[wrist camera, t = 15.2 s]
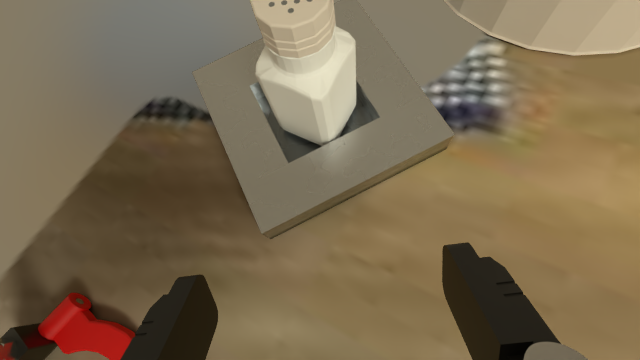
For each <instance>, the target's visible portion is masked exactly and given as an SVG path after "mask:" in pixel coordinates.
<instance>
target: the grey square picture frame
mask: <svg viewBox="0 0 640 360" xmlns="http://www.w3.org/2000/svg"><path fill="white" fill-rule="evenodd" d="M334 10H335V13H334V14H335V21H336V26H337V27H339V28H341V29H343V30H345V31H347V32H349V34H350V35H351V36H352V37H353V38H354V39H355V41H356V106H355V108H354V110H353V112H352V114H351V115H350V117H349V119H348V121H347V123H346V125H345V127H344V129H343V131H342V132H341V134H340V136H339V138H338V139H336V140H334V141H332V142H330V143H328V144H326V145H324V146H321V145H318V144H316V143H314V142H311V141H309V140H307V139H304V138H302V137H300V136H297V135H295V134H293V133H290V132H288V131H286V130H284V129H283V128H282V127H281V126H280V125H279V123H278V121H277V119H276V117H275V115H274V113H273V111H272V109H271V107H270V104H269V102H268V100H267V98H266V96H265V94H264V92H263V90H262V88H261V86H260V84H259V82H258V80H257V78H256V63H257V61H258V59H259V57H260V55H261V52H262V50H263V49H264V47H265V43H264V41H263V38H262V39H260V40H258V41H256V42H253V43H251V44H249V45H247V46H245V47H243V48H241V49H239V50H237V51H235V52H233V53H231V54H229V55H227V56H225V57H222V58H220V59H218V60H216V61H214V62H212V63H210V64H208V65H206V66H204V67H202V68H200V69H198V70H196V71H193V72H192V74H193V76H194V78H195V81H196V83H197V85H198V88H199V90H200V92H201V95H202V97H203V99H204V101H205V104H206V106H207V108H208V111H209V113H210V115H211V118H212V120H213V122H214V125H215V127H216V129H217V132H218V134H219V136H220V139H221V141H222V143H223V146H224V148H225V150H226V153H227V155H228V157H229V159H230V162H231V164H232V166H233V169H234V171H235V173H236V176H237V178H238V180H239V183H240V185H241V187H242V190H243V192H244V194H245V197H246V199H247V201H248V204H249V206H250V208H251V211H252V213H253V215H254V217H255V220H256V222H257V224H258V227H259V229H260V231H261V234H263V235H265V236H266V237H268V238H270V239H272V238H274V237H276V236H278V235H280V234H282V233H283V232H285V231H287V230H289V229H291V228H293V227H295V226H297V225H299V224H301V223H303V222H305V221H307V220H309V219H311V218H313V217H315V216H317V215H319V214H320V213H322V212H324V211H326V210H328V209H330V208H332V207H334V206H336V205H338V204H340V203H342V202H344V201H346V200H348V199H350V198H352V197H354V196H356V195H357V194H359V193H361V192H363V191H365V190H367V189H369V188H371V187H373V186H375V185H377V184H379V183H381V182H383V181H385V180H387V179H389V178H391V177H393V176H394V175H396V174H398V173H400V172H402V171H404V170H406V169H408V168H410V167H412V166H414V165H416V164H418V163H420V162H422V161H424V160H426V159H428V158H430V157H431V156H433V155H435V154H437V153H439V152H441V151H443V150H445V149H446V148H447V147H448V145H449V143H450V142H451V140H452V139H453V137H454V135H455V134H454V133H453V131H452V130H451V129H450V127H449V126H448V125H447V123H446V122H445V120H444V119H443V118H442V116H441V115H440V114H439V112H438V111H437V109H436V108H435V107H434V105H433V104H432V103H431V101H430V100H429V98H428V97H427V96H426V94H425V93H424V92H423V90H422V89H421V87H420V86H419V85H418V83H417V82H416V81H415V79H414V78H413V77H412V75H411V74H410V72H409V71H408V70H407V68H406V67H405V65H404V64H403V63H402V61H401V60H400V59H399V57H398V56H397V55H396V53H395V52H394V50H393V49H392V48H391V46H390V45H389V43H388V42H387V41H386V40H385V38H384V37H383V35H382V34H381V32H380V31H379V30H378V28H377V27H376V26H375V24H374V23H373V21H372V20H371V19H370V17H369V16H368V15H367V13H366V12H365V11H364V9H363V8H362V6H361V5H360V4H359V2H358V1H357V0H341V1H338V2H336V3H334Z"/></svg>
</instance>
